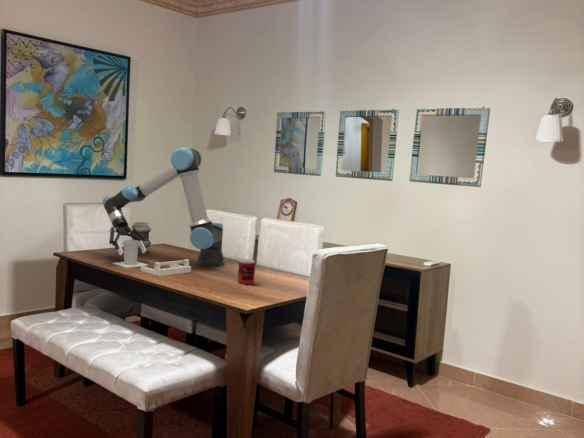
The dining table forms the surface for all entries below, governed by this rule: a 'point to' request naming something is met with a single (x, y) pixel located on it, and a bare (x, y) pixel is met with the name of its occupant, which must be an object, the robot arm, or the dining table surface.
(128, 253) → the cup
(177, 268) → the dispenser bay
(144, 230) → the apothecary jar
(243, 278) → the canned food
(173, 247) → the dining table surface
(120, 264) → the mat
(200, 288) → the dining table surface
